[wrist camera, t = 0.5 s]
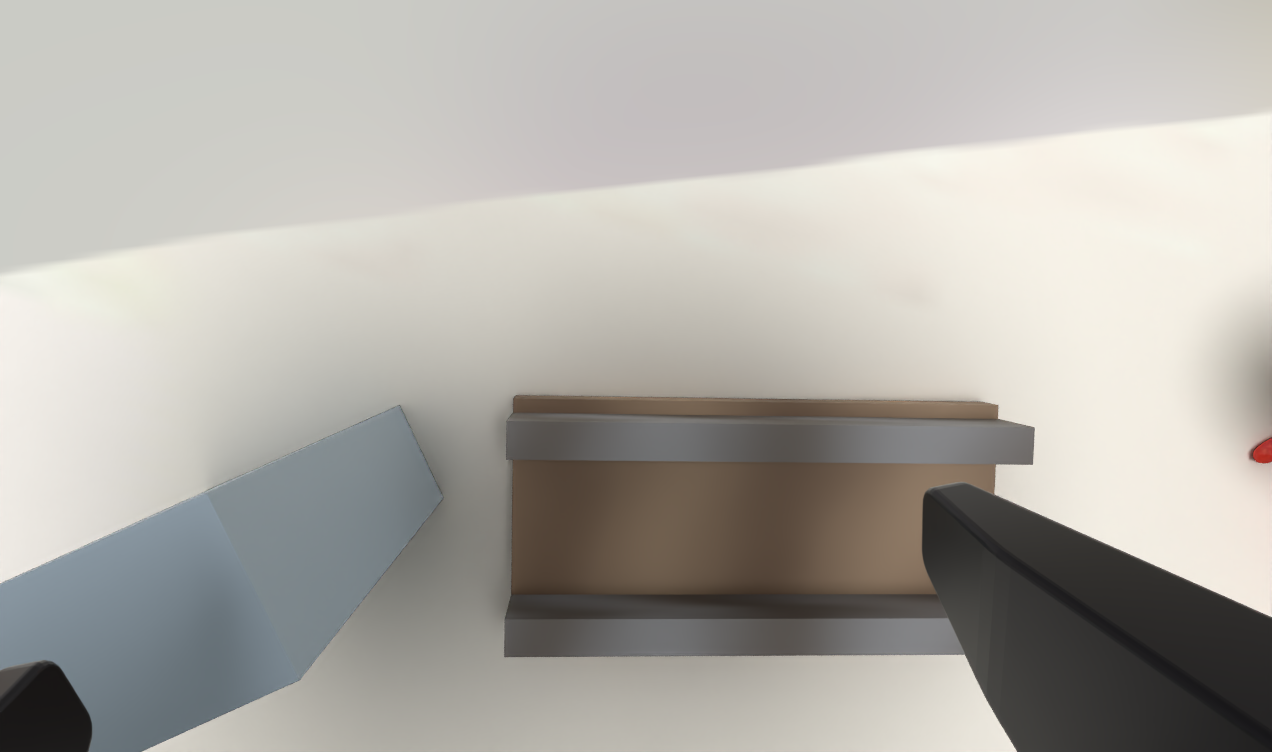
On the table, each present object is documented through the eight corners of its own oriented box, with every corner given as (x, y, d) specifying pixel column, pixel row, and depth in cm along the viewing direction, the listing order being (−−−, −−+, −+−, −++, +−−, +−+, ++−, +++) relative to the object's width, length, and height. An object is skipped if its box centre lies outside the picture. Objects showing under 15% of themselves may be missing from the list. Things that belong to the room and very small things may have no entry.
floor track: (513, 629, 25) (504, 671, 22) (516, 395, 24) (506, 405, 21) (971, 628, 26) (1022, 668, 23) (982, 402, 25) (1035, 412, 22)
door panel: (253, 582, 24) (-91, 857, 12) (207, 490, 24) (-195, 670, 12) (443, 498, 25) (299, 680, 12) (399, 404, 24) (206, 493, 12)
